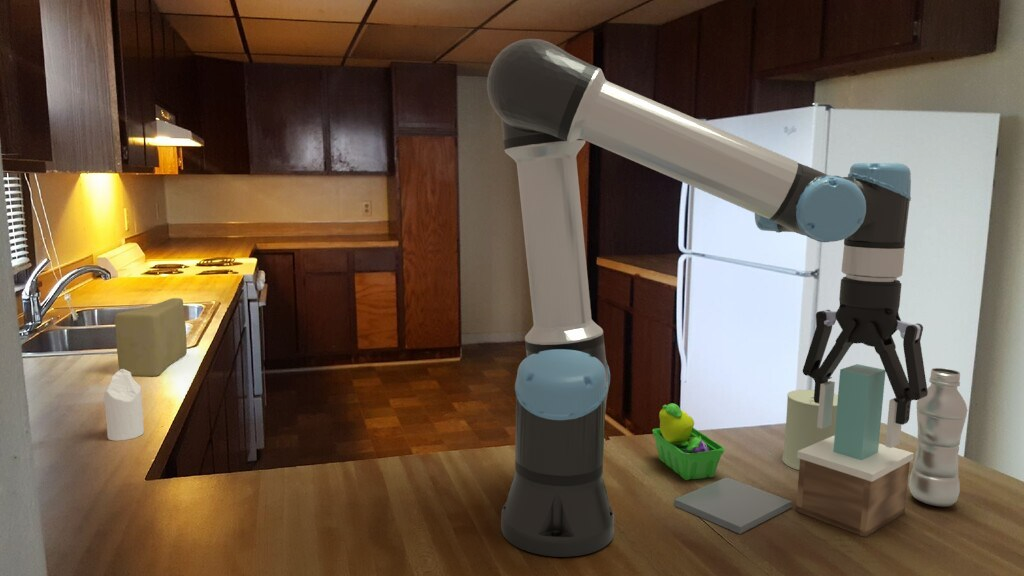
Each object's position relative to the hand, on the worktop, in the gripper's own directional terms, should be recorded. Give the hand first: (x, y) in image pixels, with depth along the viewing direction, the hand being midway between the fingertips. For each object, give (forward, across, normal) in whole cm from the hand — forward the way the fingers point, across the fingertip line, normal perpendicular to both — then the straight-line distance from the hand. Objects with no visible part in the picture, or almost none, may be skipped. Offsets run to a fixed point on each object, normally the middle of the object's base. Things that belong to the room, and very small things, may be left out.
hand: (857, 435), depth 106 cm
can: (+12, +13, -13) cm, 22 cm away
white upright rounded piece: (+12, +96, +73) cm, 121 cm away
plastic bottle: (+12, -6, -13) cm, 18 cm away
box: (+11, 0, 0) cm, 11 cm away
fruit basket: (+12, +25, +6) cm, 28 cm away
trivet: (+11, +12, +12) cm, 20 cm away
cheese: (+12, +144, +54) cm, 154 cm away
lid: (+5, 0, 0) cm, 5 cm away
